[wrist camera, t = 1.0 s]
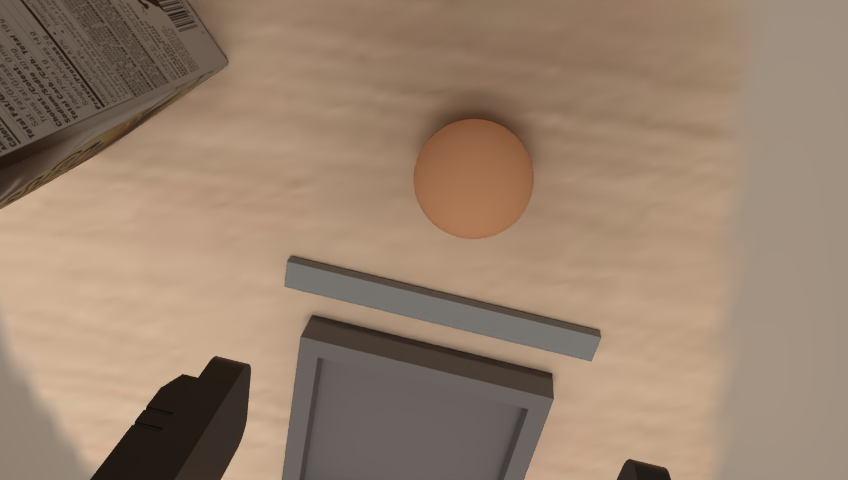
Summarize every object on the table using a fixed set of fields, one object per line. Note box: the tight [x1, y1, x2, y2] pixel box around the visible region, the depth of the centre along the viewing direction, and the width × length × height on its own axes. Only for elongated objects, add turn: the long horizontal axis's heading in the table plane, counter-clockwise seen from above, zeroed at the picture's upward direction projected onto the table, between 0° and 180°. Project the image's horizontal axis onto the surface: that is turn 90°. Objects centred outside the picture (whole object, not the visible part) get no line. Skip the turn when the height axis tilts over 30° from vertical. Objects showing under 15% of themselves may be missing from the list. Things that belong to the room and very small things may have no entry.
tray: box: [282, 315, 554, 480], centre depth 37 cm, size 13×13×2 cm
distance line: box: [284, 256, 601, 361], centre depth 33 cm, size 2×16×1 cm, turn 79°
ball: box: [414, 119, 534, 239], centre depth 28 cm, size 5×5×5 cm
